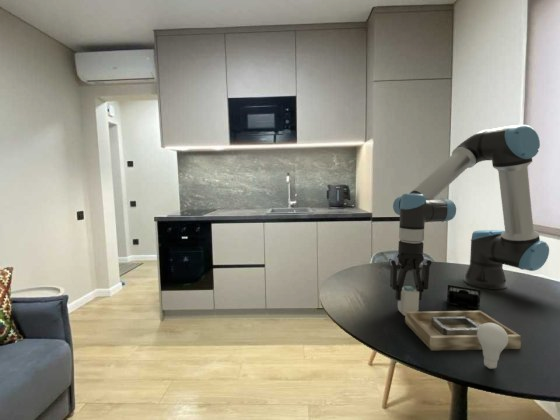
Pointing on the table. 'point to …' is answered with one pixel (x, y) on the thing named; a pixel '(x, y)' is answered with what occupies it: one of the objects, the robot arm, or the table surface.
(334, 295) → the table surface
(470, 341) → the birch box
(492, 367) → the lightbulb
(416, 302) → the white block teal patch
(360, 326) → the table surface
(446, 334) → the grey rectangular frame
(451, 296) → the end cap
